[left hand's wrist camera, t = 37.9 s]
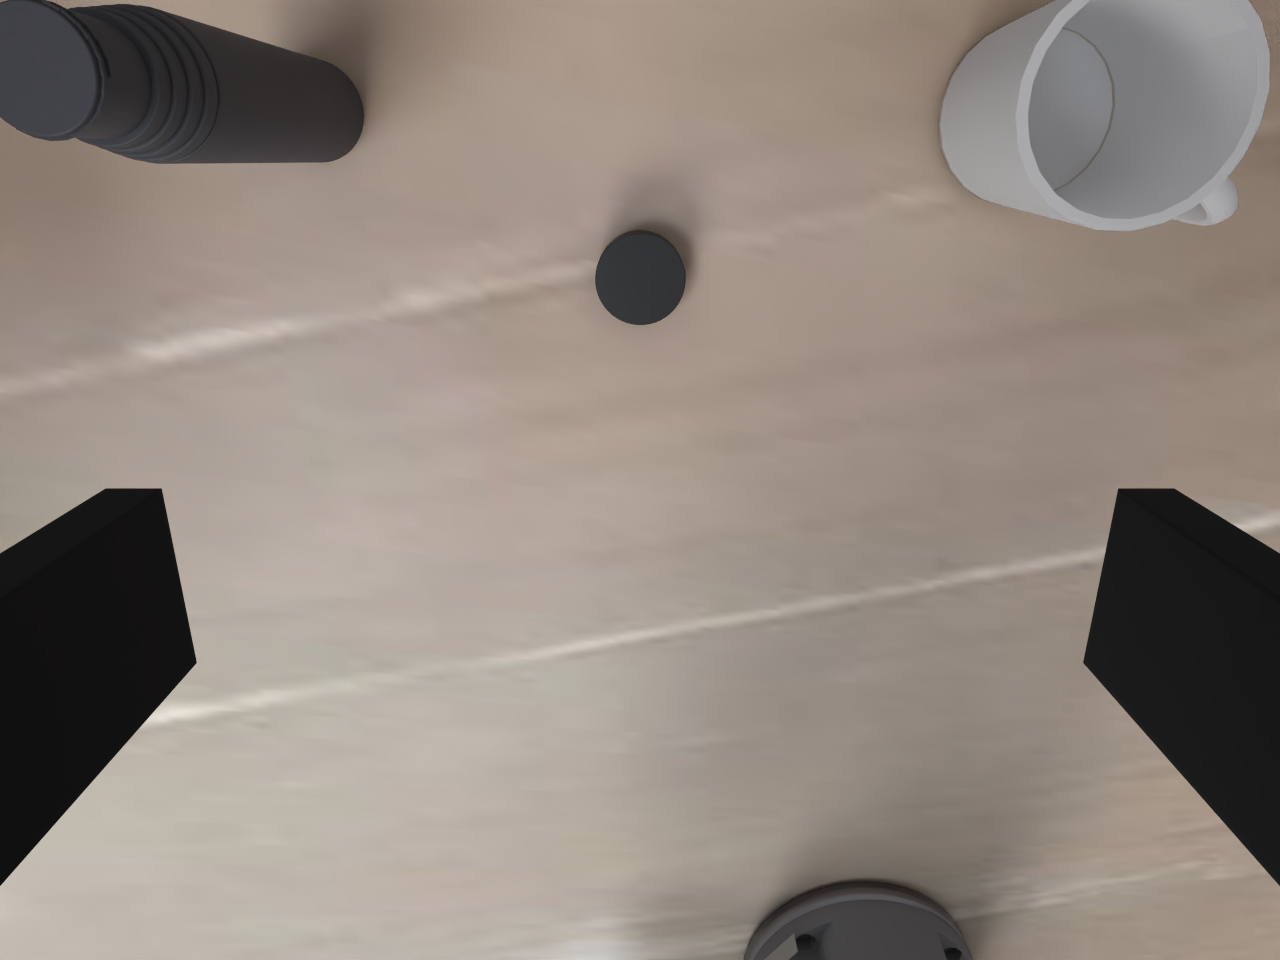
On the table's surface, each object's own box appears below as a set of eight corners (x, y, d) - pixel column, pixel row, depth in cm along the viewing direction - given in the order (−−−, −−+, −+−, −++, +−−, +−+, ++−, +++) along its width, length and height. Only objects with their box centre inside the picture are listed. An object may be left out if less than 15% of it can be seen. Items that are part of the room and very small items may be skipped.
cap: (686, 314, 44) (688, 321, 43) (601, 322, 44) (600, 328, 43) (680, 226, 43) (682, 229, 41) (592, 234, 43) (590, 237, 41)
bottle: (344, 179, 42) (97, 195, 23) (254, 134, 41) (-77, 112, 22) (377, 88, 41) (145, 25, 22) (285, 40, 40) (-40, -70, 21)
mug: (887, 130, 41) (963, 122, 31) (1029, -38, 39) (1159, -104, 29) (1045, 280, 43) (1161, 315, 34) (1188, 130, 41) (1357, 121, 31)
